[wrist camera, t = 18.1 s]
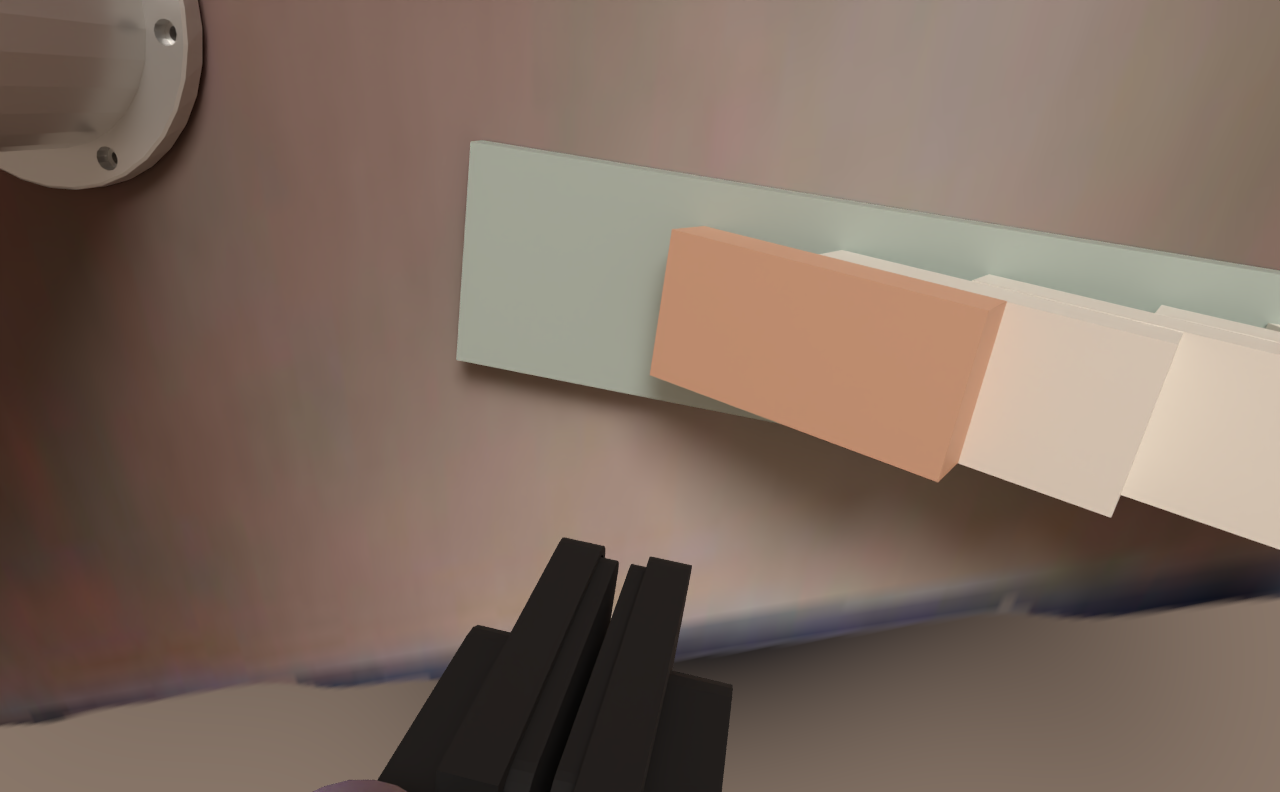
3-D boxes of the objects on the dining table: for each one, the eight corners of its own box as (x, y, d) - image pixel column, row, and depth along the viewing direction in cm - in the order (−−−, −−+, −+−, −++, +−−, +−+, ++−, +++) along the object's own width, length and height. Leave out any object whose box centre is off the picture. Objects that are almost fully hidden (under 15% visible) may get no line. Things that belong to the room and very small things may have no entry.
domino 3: (929, 428, 27) (1297, 555, 22) (972, 280, 26) (1381, 380, 20) (947, 415, 29) (1295, 530, 24) (989, 273, 27) (1373, 365, 22)
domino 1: (649, 375, 28) (938, 482, 23) (671, 229, 27) (989, 310, 22) (681, 364, 30) (958, 462, 25) (704, 226, 28) (1007, 301, 23)
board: (468, 351, 33) (456, 360, 32) (482, 140, 30) (470, 141, 29) (1193, 493, 29) (1209, 509, 28) (1287, 271, 27) (1308, 279, 25)
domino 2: (785, 401, 28) (1111, 517, 23) (817, 254, 26) (1178, 344, 21) (810, 389, 29) (1120, 495, 24) (842, 249, 28) (1183, 332, 23)
